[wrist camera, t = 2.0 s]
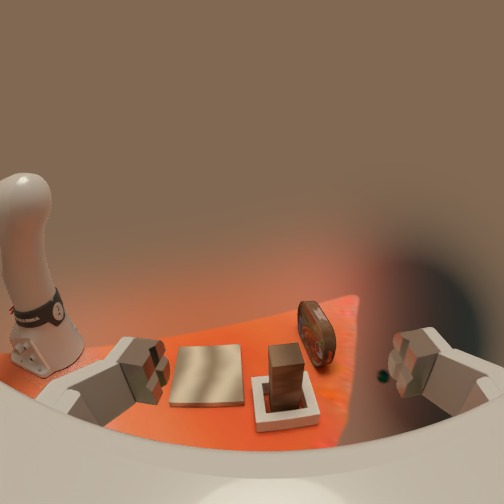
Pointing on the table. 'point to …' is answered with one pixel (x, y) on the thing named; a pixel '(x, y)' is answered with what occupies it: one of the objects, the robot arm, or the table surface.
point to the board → (207, 377)
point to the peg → (285, 376)
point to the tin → (316, 333)
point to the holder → (285, 418)
